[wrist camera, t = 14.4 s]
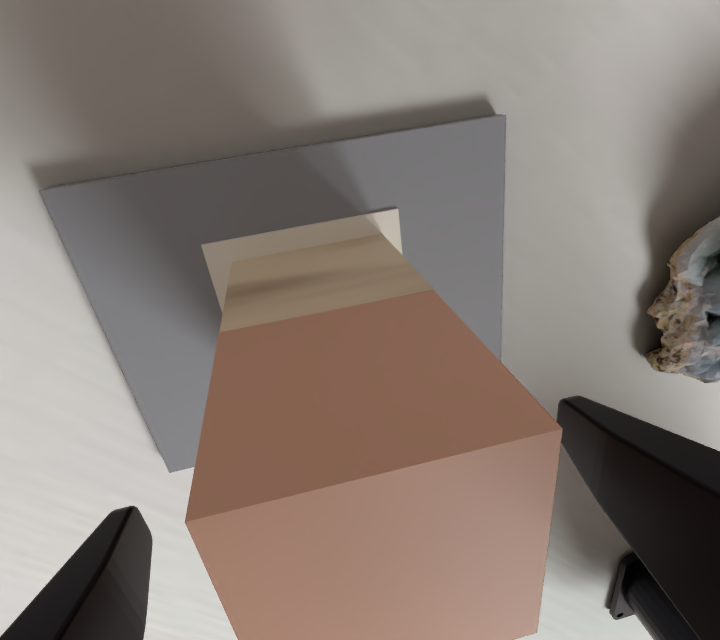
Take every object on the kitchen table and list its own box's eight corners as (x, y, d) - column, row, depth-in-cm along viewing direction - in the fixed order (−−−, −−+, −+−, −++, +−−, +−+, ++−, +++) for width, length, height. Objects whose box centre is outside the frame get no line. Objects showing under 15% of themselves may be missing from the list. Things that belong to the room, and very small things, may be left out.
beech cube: (395, 358, 17) (442, 447, 13) (266, 387, 16) (269, 490, 12) (382, 233, 15) (434, 288, 10) (231, 261, 14) (218, 333, 10)
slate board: (493, 384, 20) (501, 393, 19) (172, 461, 18) (168, 474, 17) (497, 114, 14) (507, 115, 14) (47, 187, 13) (37, 191, 12)
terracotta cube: (440, 448, 13) (537, 632, 8) (267, 490, 12) (271, 713, 8) (433, 290, 10) (563, 428, 6) (218, 332, 10) (184, 522, 5)
